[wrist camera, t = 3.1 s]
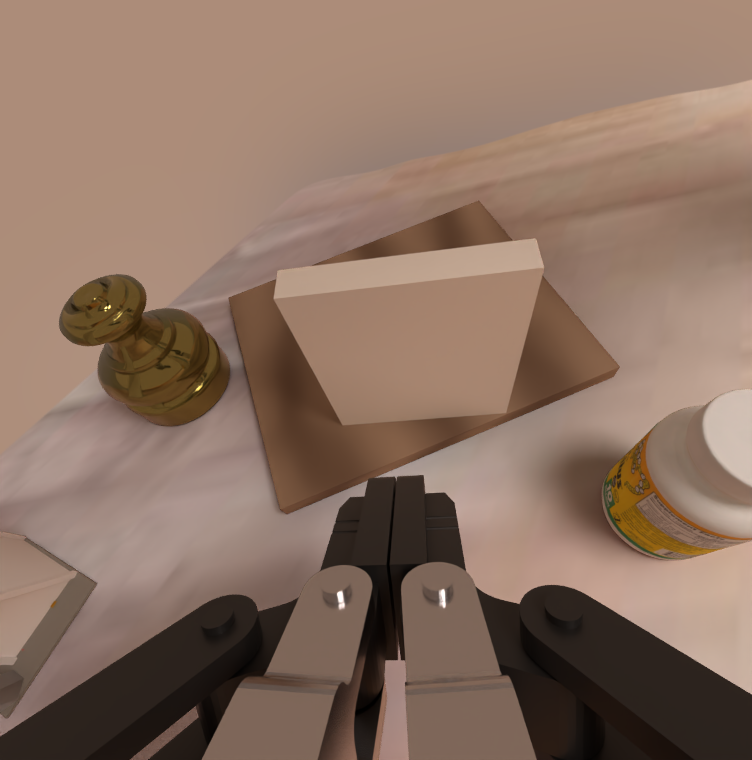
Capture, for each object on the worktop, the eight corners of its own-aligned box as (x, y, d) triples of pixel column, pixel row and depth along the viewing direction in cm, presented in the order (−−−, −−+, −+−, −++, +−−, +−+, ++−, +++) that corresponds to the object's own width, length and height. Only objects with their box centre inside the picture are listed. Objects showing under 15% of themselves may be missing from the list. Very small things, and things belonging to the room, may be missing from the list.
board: (478, 212, 36) (478, 200, 35) (613, 376, 26) (619, 366, 25) (234, 307, 35) (228, 297, 34) (287, 514, 25) (280, 509, 24)
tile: (501, 390, 26) (535, 237, 16) (506, 413, 25) (544, 267, 15) (343, 403, 27) (277, 269, 17) (342, 425, 26) (273, 298, 16)
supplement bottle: (673, 585, 21) (820, 560, 12) (577, 505, 23) (647, 440, 15) (732, 508, 22) (901, 439, 14) (635, 440, 24) (729, 347, 16)
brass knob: (177, 333, 34) (86, 236, 26) (250, 356, 32) (177, 258, 23) (118, 410, 31) (-7, 329, 23) (195, 442, 29) (87, 366, 20)
